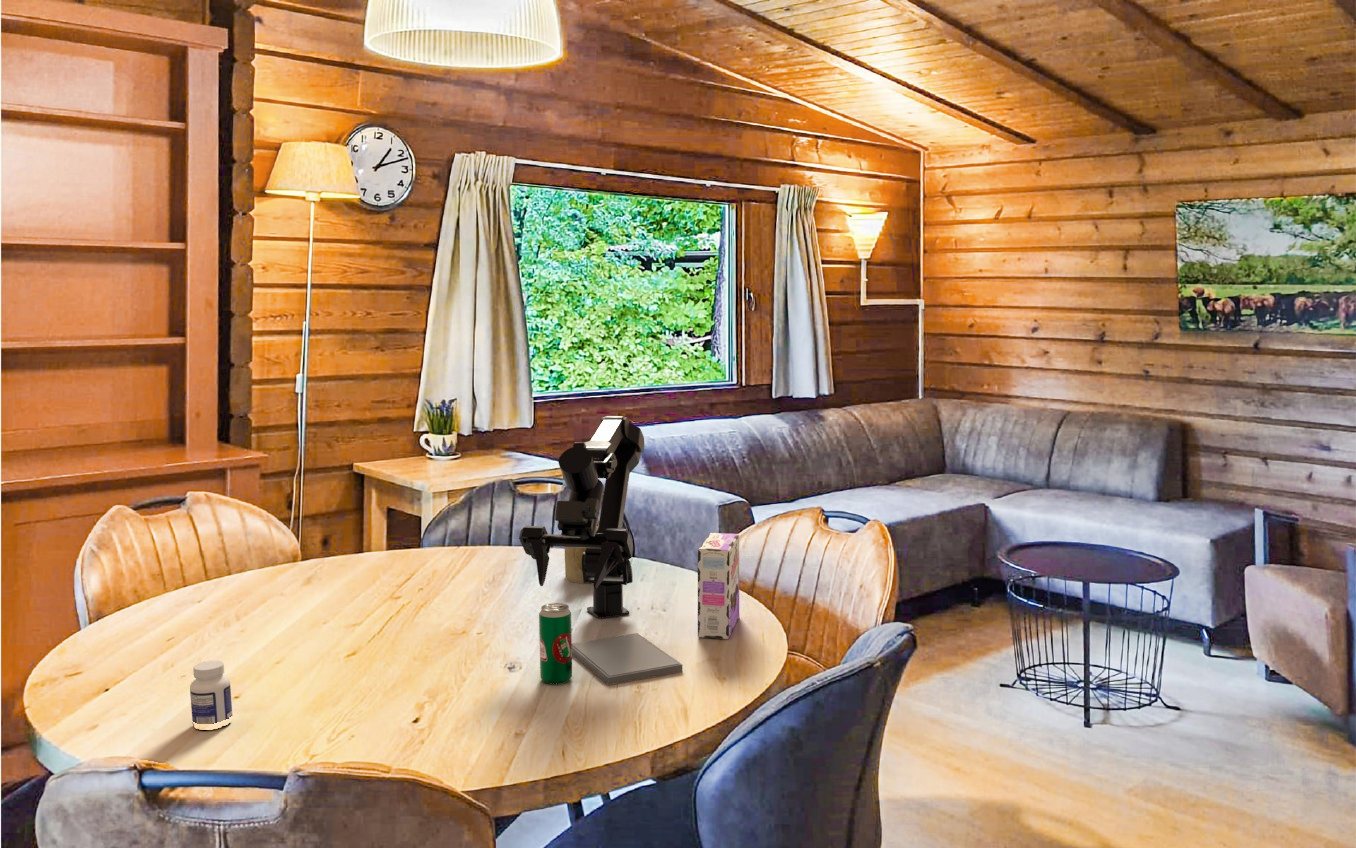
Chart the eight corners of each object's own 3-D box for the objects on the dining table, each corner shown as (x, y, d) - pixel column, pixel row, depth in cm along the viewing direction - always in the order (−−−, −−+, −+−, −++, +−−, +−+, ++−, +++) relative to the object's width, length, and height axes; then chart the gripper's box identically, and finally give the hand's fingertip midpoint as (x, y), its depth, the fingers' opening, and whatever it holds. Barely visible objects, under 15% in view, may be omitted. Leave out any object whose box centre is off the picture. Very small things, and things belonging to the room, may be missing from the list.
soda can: (541, 674, 169) (539, 602, 168) (572, 673, 170) (571, 601, 168) (539, 686, 164) (538, 612, 163) (572, 685, 165) (570, 611, 163)
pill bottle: (219, 714, 154) (215, 656, 153) (240, 722, 151) (236, 663, 150) (184, 726, 150) (180, 666, 149) (205, 735, 147) (201, 674, 146)
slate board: (568, 650, 181) (568, 643, 180) (637, 639, 186) (637, 632, 186) (608, 685, 165) (608, 677, 164) (682, 671, 170) (682, 663, 170)
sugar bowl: (619, 587, 220) (618, 517, 218) (566, 589, 218) (564, 519, 216) (614, 569, 234) (613, 503, 232) (564, 571, 233) (563, 504, 231)
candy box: (729, 640, 186) (729, 549, 184) (696, 638, 187) (696, 548, 185) (740, 617, 199) (740, 532, 197) (709, 615, 200) (709, 531, 198)
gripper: (521, 479, 178) (501, 559, 168) (628, 482, 175) (614, 563, 165) (536, 515, 186) (517, 593, 177) (638, 518, 183) (625, 597, 174)
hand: (567, 586), depth 173 cm, fingers open, 9 cm apart
